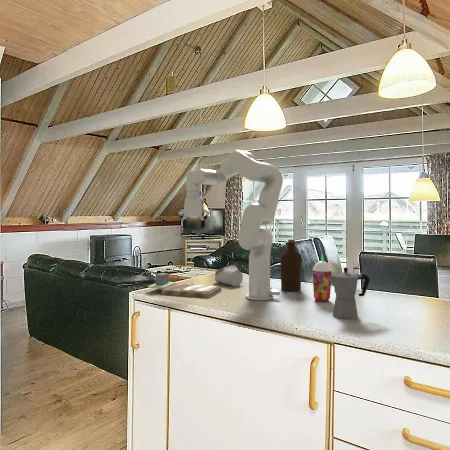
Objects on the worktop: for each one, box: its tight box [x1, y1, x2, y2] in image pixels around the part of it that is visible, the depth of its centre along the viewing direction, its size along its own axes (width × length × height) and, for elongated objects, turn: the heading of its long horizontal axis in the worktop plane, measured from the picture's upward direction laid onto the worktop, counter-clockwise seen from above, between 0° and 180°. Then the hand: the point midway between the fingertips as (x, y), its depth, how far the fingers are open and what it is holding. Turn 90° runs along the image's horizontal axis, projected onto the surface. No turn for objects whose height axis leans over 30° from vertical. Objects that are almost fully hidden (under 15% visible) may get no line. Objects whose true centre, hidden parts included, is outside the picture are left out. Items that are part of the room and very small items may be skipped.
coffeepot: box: [327, 267, 371, 320], centre depth 137 cm, size 15×9×18 cm, turn 89°
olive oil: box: [279, 239, 303, 293], centre depth 184 cm, size 11×11×25 cm
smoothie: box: [311, 254, 333, 303], centre depth 162 cm, size 8×8×20 cm
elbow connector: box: [214, 264, 244, 287], centre depth 205 cm, size 18×10×20 cm
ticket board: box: [161, 283, 222, 299], centre depth 178 cm, size 24×16×3 cm, turn 71°
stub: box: [147, 272, 177, 290], centre depth 183 cm, size 8×13×6 cm, turn 161°
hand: (193, 228), depth 192 cm, fingers open, 9 cm apart
